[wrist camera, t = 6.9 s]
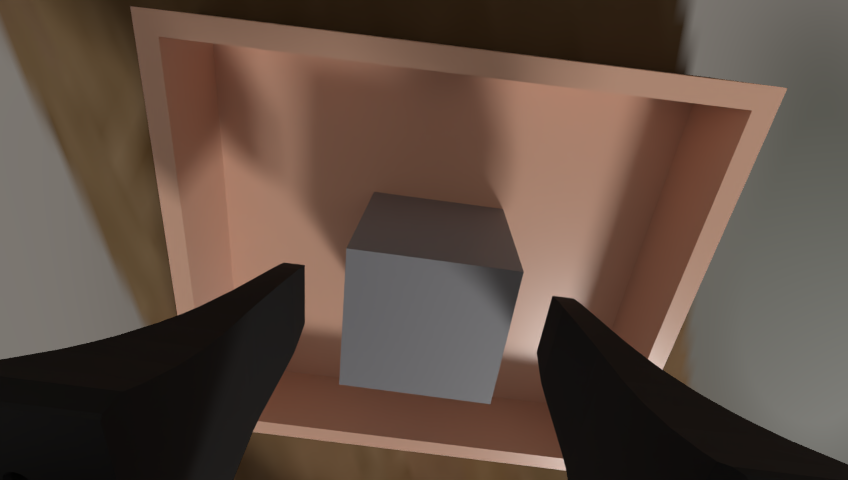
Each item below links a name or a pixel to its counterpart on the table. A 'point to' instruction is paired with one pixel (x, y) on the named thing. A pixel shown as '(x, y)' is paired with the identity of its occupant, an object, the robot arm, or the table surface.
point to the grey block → (428, 298)
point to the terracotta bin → (437, 196)
